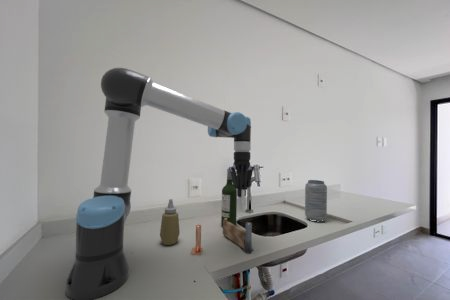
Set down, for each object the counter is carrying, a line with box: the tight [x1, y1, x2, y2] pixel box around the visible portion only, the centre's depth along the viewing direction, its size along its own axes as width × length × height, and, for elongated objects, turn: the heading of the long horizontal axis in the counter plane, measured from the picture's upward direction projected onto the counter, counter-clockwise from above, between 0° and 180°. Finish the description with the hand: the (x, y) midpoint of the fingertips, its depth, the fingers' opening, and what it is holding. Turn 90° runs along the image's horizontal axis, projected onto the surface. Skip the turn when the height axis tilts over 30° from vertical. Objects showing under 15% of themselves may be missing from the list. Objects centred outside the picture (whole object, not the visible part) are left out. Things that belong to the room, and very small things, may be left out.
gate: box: [222, 218, 246, 249], centre depth 83 cm, size 16×2×7 cm, turn 32°
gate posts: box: [190, 221, 255, 256], centre depth 76 cm, size 24×7×11 cm, turn 92°
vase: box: [304, 179, 328, 221], centre depth 115 cm, size 12×12×23 cm
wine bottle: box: [220, 168, 238, 228], centre depth 102 cm, size 8×8×30 cm
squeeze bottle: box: [159, 199, 181, 246], centre depth 82 cm, size 8×8×18 cm
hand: (241, 203), depth 87 cm, fingers closed
